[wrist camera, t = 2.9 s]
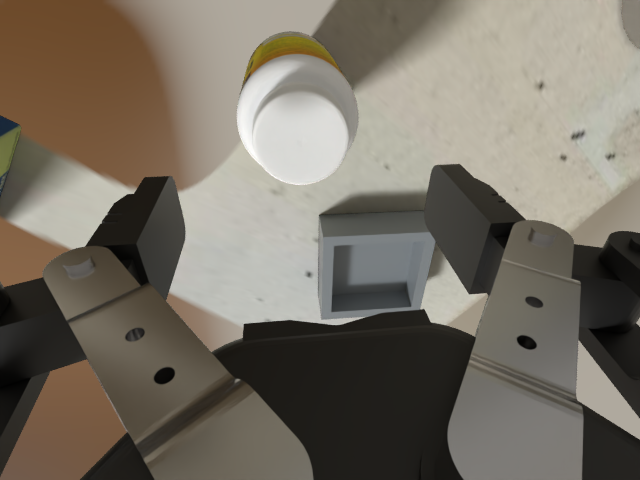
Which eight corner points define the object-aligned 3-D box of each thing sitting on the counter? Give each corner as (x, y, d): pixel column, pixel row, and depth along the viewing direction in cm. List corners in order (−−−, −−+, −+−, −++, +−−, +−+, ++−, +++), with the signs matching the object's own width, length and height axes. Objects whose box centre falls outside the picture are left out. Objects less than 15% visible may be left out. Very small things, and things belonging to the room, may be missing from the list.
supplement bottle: (240, 30, 22) (220, 68, 13) (337, 29, 22) (375, 64, 14) (251, 127, 25) (240, 205, 17) (335, 124, 25) (365, 198, 17)
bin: (318, 215, 29) (323, 237, 27) (424, 210, 30) (437, 231, 28) (318, 294, 34) (321, 319, 32) (408, 289, 35) (419, 313, 33)
